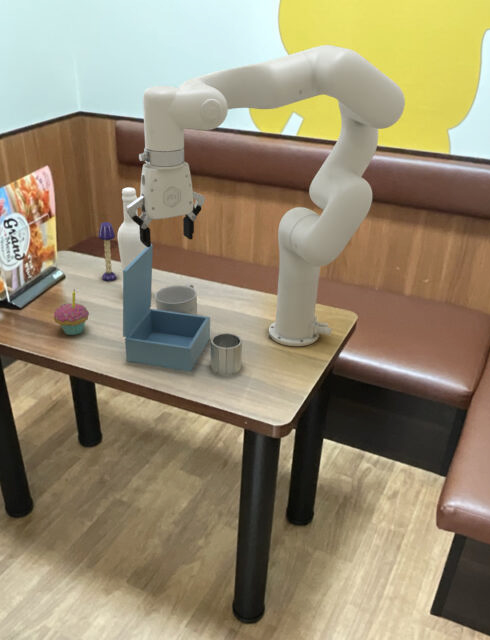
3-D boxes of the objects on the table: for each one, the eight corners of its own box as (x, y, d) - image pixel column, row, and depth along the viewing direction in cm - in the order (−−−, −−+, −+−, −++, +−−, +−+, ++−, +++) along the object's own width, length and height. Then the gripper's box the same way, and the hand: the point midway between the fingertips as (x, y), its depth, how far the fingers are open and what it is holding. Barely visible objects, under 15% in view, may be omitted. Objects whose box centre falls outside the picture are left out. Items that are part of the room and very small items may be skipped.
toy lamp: (111, 273, 183) (106, 219, 174) (121, 277, 181) (117, 223, 171) (99, 278, 180) (93, 224, 171) (110, 283, 178) (104, 227, 168)
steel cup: (243, 363, 141) (244, 335, 137) (236, 379, 136) (237, 350, 132) (215, 359, 143) (215, 331, 139) (207, 374, 138) (207, 345, 133)
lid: (152, 244, 140) (149, 243, 140) (126, 270, 127) (122, 270, 128) (150, 307, 149) (147, 306, 149) (126, 337, 137) (122, 336, 137)
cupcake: (97, 326, 156) (91, 284, 149) (77, 342, 149) (71, 298, 143) (69, 320, 159) (63, 277, 152) (49, 334, 152) (41, 291, 146)
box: (210, 341, 150) (210, 316, 146) (190, 374, 137) (190, 348, 134) (150, 332, 153) (149, 308, 150) (126, 364, 141) (124, 338, 137)
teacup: (179, 335, 152) (178, 306, 148) (147, 322, 158) (145, 294, 153) (212, 314, 161) (212, 286, 157) (181, 303, 167) (180, 276, 162)
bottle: (149, 302, 167) (143, 193, 150) (120, 302, 167) (110, 193, 150) (152, 290, 174) (146, 184, 157) (124, 289, 174) (115, 184, 157)
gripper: (130, 166, 112) (136, 254, 122) (213, 156, 119) (212, 240, 128) (116, 157, 118) (122, 242, 127) (195, 148, 124) (195, 229, 134)
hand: (167, 241), depth 128 cm, fingers open, 9 cm apart
